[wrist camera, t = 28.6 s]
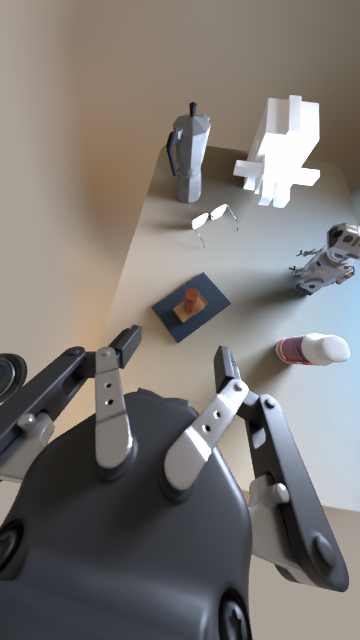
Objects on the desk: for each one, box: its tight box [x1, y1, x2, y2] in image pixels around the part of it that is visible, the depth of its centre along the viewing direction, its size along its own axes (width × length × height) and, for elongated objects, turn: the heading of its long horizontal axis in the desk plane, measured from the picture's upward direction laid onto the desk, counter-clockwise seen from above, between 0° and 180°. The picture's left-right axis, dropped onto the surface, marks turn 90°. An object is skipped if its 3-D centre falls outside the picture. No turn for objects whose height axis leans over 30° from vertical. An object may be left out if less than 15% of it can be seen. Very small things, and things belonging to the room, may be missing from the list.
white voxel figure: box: [233, 95, 320, 208], centre depth 43 cm, size 15×25×28 cm
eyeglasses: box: [191, 204, 238, 248], centre depth 42 cm, size 14×8×4 cm, turn 122°
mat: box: [152, 272, 231, 343], centre depth 37 cm, size 18×12×1 cm, turn 127°
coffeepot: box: [166, 102, 211, 203], centre depth 39 cm, size 15×9×18 cm, turn 136°
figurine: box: [289, 223, 360, 295], centre depth 33 cm, size 9×12×15 cm
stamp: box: [173, 288, 205, 324], centre depth 31 cm, size 7×4×10 cm, turn 126°
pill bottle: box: [276, 334, 350, 366], centre depth 29 cm, size 6×6×11 cm
